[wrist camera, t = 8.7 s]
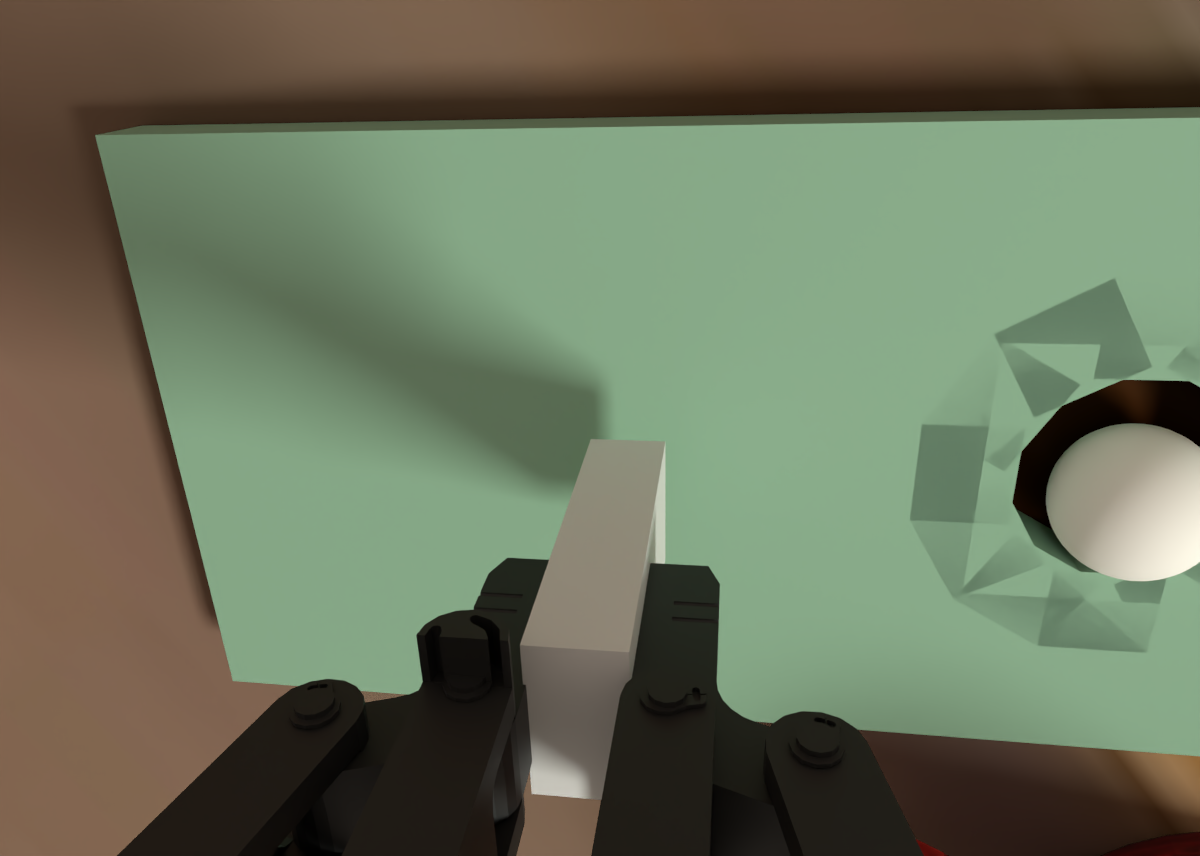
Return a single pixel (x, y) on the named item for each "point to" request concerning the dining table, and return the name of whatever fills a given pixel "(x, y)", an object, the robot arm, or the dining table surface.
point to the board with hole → (681, 387)
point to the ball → (1128, 501)
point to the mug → (1133, 847)
